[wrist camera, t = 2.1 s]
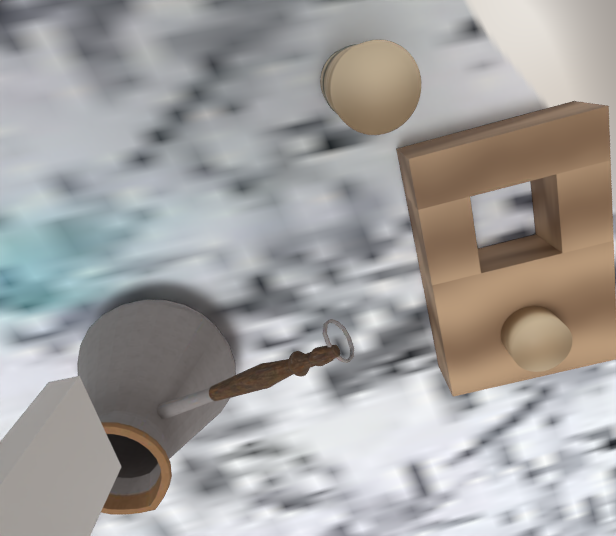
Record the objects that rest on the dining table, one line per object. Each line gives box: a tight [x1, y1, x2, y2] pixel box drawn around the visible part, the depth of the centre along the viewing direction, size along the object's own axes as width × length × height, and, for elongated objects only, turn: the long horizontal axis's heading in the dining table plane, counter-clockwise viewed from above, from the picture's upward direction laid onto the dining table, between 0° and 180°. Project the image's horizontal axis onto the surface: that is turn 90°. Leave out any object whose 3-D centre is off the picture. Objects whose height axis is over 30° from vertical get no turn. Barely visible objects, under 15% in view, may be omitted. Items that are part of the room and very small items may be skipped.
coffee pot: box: [77, 300, 354, 514], centre depth 32 cm, size 21×12×15 cm, turn 126°
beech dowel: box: [320, 40, 421, 135], centre depth 28 cm, size 4×4×11 cm
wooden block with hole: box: [396, 101, 616, 396], centre depth 34 cm, size 18×12×6 cm, turn 15°
